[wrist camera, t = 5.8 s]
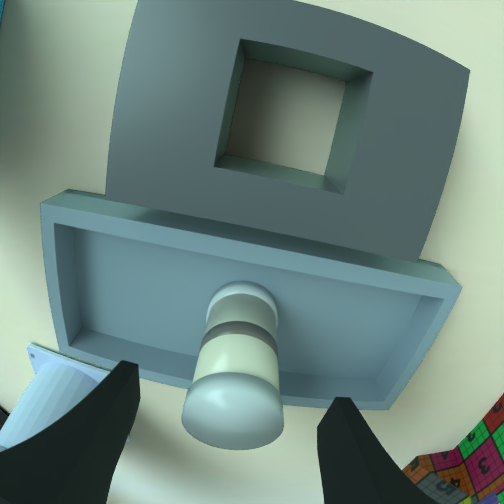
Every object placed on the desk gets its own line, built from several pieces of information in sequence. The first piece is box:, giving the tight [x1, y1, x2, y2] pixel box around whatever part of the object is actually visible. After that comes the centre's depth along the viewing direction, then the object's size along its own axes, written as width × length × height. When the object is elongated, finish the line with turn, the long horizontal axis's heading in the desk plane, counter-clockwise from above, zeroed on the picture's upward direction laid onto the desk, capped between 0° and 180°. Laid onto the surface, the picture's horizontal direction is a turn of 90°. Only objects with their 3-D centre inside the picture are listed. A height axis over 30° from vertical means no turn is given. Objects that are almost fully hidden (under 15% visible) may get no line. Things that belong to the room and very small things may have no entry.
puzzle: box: [402, 393, 504, 504], centre depth 19 cm, size 25×17×14 cm
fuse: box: [181, 280, 284, 450], centre depth 13 cm, size 3×3×7 cm
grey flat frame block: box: [105, 0, 470, 263], centre depth 11 cm, size 8×12×4 cm, turn 78°
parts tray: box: [40, 189, 462, 410], centre depth 15 cm, size 9×20×2 cm, turn 78°
